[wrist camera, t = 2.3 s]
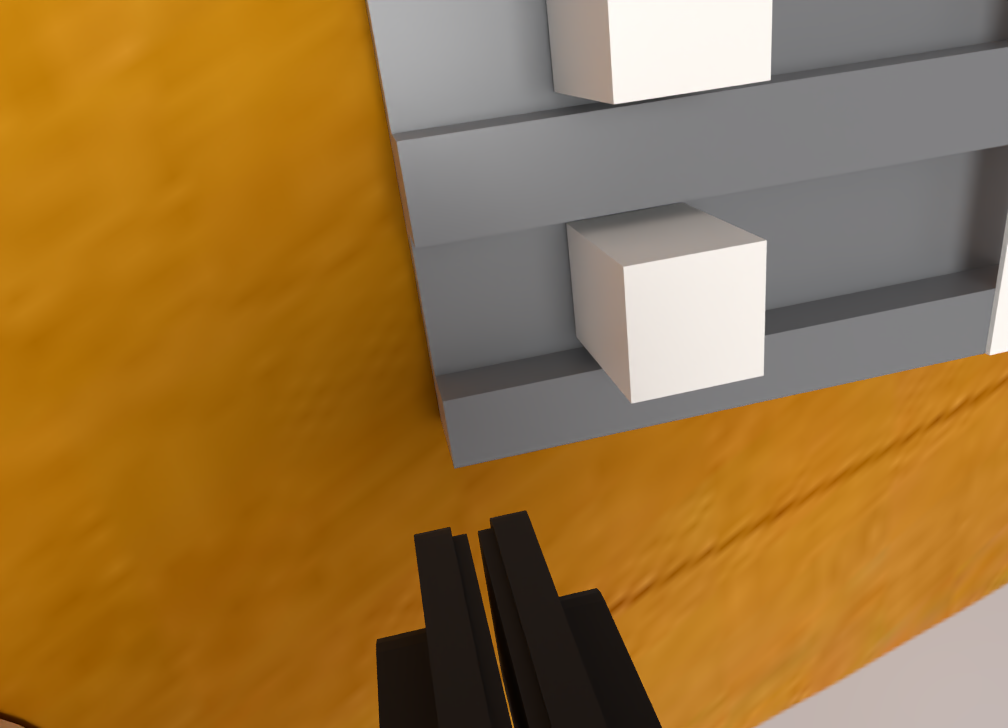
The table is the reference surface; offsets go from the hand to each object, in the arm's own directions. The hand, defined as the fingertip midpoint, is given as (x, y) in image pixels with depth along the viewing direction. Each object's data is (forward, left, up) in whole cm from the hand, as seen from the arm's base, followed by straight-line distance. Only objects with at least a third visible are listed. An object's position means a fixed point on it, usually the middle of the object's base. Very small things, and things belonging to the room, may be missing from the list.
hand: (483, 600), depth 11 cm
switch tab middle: (+8, -8, -14) cm, 18 cm away
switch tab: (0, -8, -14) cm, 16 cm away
